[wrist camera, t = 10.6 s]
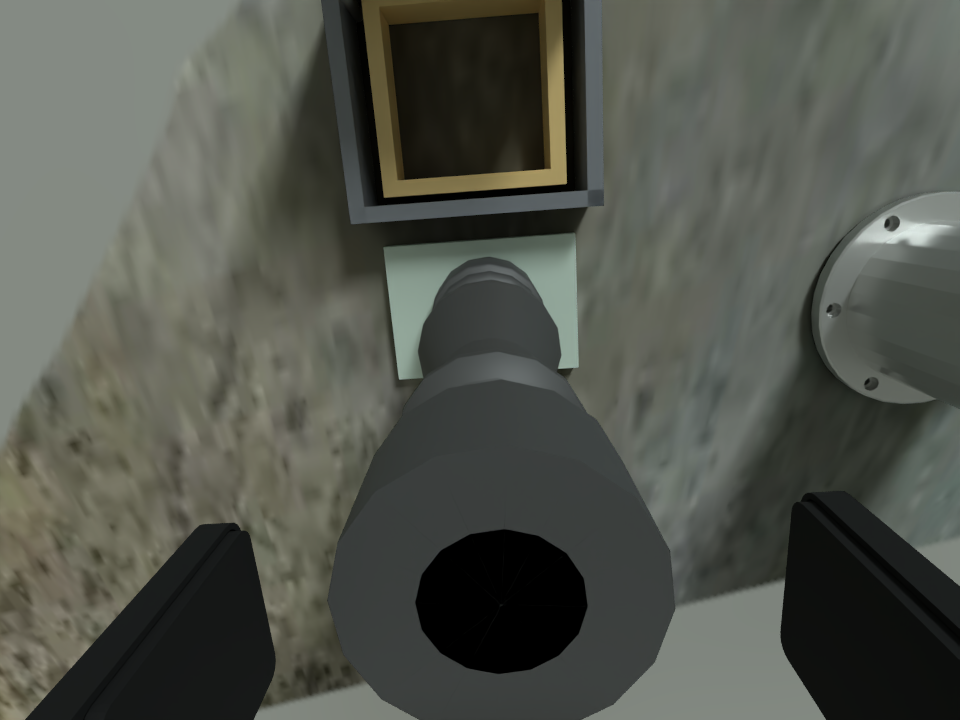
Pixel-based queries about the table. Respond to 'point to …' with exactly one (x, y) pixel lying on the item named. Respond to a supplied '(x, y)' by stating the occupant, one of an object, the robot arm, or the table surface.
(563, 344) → the sage pad
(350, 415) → the table surface
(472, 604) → the candle holder
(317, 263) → the table surface
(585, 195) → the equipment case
